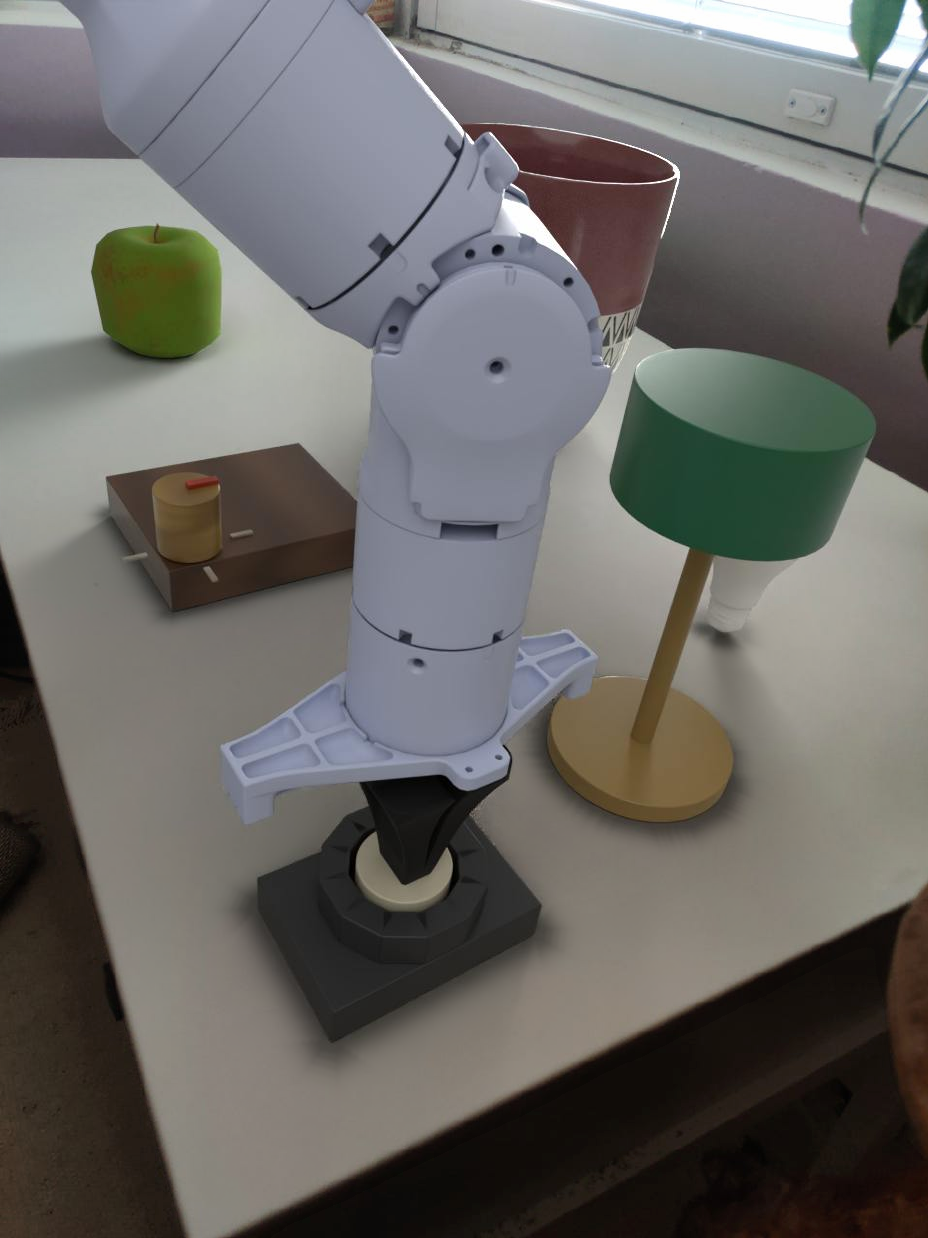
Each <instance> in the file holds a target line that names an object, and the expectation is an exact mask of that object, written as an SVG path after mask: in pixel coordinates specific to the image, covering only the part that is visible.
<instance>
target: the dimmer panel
mask: <svg viewBox="0 0 928 1238" xmlns="http://www.w3.org/2000/svg"><path fill="white" fill-rule="evenodd" d="M183 472H189V473H198V474H203V475H206V476H209V477H211V476H216V478H217V479H218V480H219V486H220V497H221V522H222V548H221V550H220V552H219V553H218V554H217V555H216V556H214V557H213V558H211V559H208V560H206V561H202V562H196V563H180V562H175V561H172V560H169V559H167V558H165V557H164V556H162V555H161V554H160V553H159V551H158V549H157V542H156V531H155V520H154V509H153V498H152V487H153V485H154V483H155V482H156V481H157V480H159V479H160V478H162V477H164V476H167V475H170V474H174V473H183ZM105 484H106V493H107V499H108V508H109V515H110V517H111V518H112V519H113V521H114V523H115V525H116V526H117V528H118V529H119V531H120V532H121V533H122V535H123V537H124V539H125V540H126V542H127V543H128V544H129V545H128V546H130V548H131V549H132V551H133V552H134V554H132V555H128V556H123V557H121V559H122V561H123V563H129V562H134V561H138V560H139V562H140V563H141V565H142V567H143V568H144V570H145V571H146V573H147V575H148V576H149V578H150V579H151V580H152V582H153V584H154V585H155V587H156V588H157V590H158V592H159V593H160V594H161V596H162V598H163V599H164V600H165V603H166V604H167V606H168V608H170V610H171V612H178V611H182V610H186V609H189V608H194V607H197V606H202V605H205V604H209V603H214V602H217V601H221V600H226V599H229V598H233V597H237V596H240V595H245V594H248V593H249V594H250V593H253V592H257V591H260V590H264V589H269V588H273V587H276V586H281V585H285V584H288V583H293V582H296V581H300V580H304V579H308V578H312V577H316V576H320V575H324V574H327V573H332V572H336V571H340V570H343V569H347V568H351V567H353V563H354V546H355V529H356V513H357V499H356V498H354V496H353V495H352V494H351V493H350V492H349V491H348V490H347V489H346V488H345V487H344V485H343V486H342V484H341V483H340V482H339V481H338V480H337V479H336V478H335V477H334V476H333V475H332V474H331V473H330V472H329V471H328V470H327V469H326V468H325V467H324V466H323V465H322V464H321V463H320V462H319V461H318V460H317V459H316V458H315V457H314V456H313V455H312V454H311V453H310V452H309V451H308V450H307V449H306V448H305V447H304V446H303V445H302V444H301V443H300V442H296V443H291V444H285V445H279V446H273V447H267V448H262V449H255V450H250V451H244V452H239V453H232V454H227V455H220V456H216V457H210V458H205V459H198V460H193V461H187V462H181V463H176V464H170V465H164V466H159V467H158V466H157V467H153V468H152V467H151V468H146V469H141V470H135V471H129V472H123V473H118V474H112V475H107V476H105Z"/></svg>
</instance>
